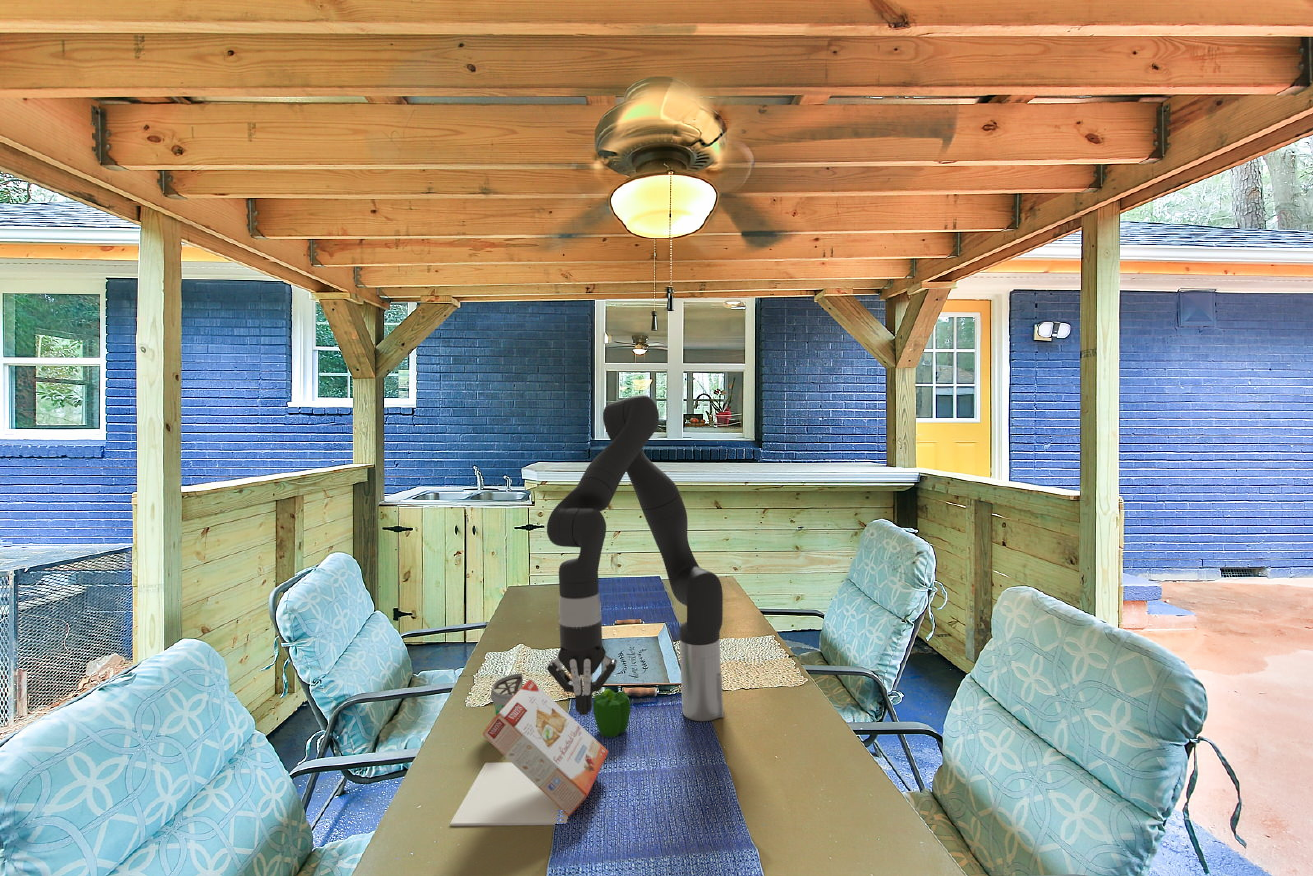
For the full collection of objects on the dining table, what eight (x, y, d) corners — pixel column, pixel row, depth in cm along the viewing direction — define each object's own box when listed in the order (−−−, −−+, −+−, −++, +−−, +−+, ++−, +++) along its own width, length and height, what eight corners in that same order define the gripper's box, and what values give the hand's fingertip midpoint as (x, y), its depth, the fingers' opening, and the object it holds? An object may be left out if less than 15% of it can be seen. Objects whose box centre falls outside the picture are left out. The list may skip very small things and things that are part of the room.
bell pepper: (614, 718, 136) (612, 675, 135) (638, 730, 130) (636, 685, 130) (585, 733, 130) (583, 687, 130) (609, 746, 124) (607, 699, 124)
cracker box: (590, 794, 101) (498, 711, 103) (569, 819, 102) (479, 736, 104) (611, 749, 114) (529, 676, 117) (592, 771, 115) (512, 698, 118)
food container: (497, 716, 139) (495, 674, 139) (524, 714, 139) (522, 672, 139) (487, 744, 127) (484, 698, 126) (516, 742, 127) (514, 696, 127)
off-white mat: (584, 763, 118) (584, 761, 118) (566, 824, 100) (566, 822, 100) (485, 764, 119) (485, 762, 119) (450, 825, 101) (450, 823, 101)
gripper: (619, 610, 110) (622, 702, 111) (548, 612, 111) (552, 704, 111) (614, 624, 103) (618, 723, 103) (539, 626, 103) (543, 724, 104)
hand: (584, 713), depth 107 cm, fingers closed
